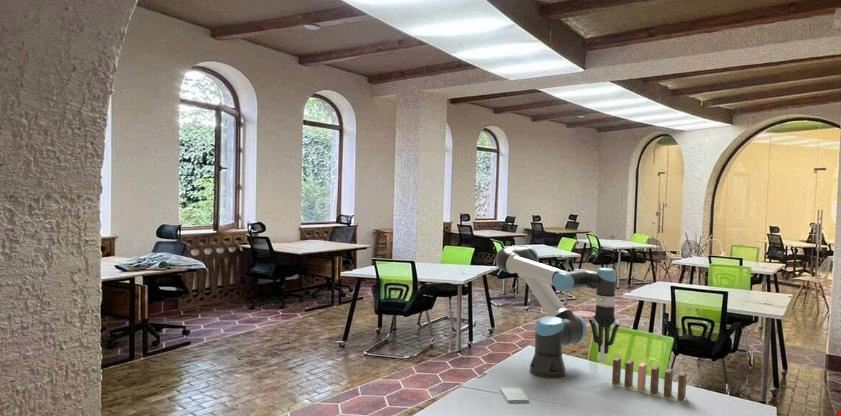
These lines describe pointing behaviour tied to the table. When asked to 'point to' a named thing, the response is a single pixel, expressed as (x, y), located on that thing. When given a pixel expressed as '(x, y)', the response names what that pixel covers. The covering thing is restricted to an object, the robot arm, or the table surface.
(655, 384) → the domino
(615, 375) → the domino
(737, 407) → the table surface
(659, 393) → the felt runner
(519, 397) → the hard drive
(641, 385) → the domino
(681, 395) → the domino
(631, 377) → the domino
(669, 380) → the domino
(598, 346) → the robot arm
